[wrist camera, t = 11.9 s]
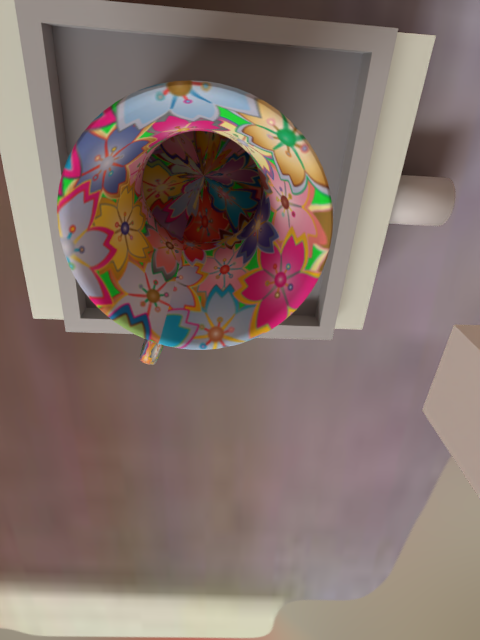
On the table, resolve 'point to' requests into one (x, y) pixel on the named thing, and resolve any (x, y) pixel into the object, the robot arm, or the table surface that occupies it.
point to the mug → (194, 215)
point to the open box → (236, 71)
